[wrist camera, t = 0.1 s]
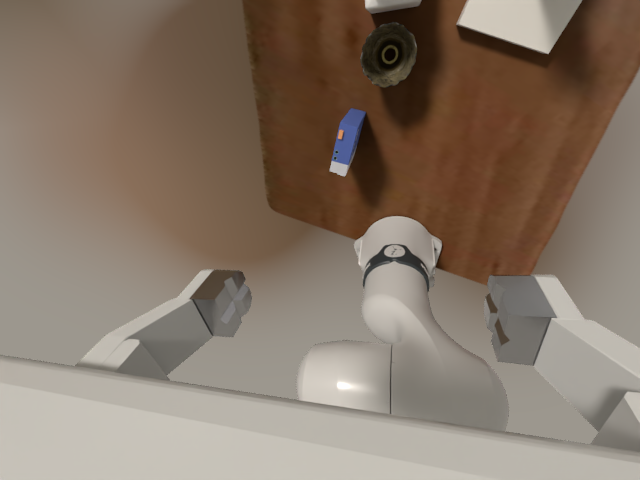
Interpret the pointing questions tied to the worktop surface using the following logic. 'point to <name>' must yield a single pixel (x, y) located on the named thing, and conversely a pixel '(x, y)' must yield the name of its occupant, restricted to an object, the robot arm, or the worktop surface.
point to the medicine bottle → (389, 5)
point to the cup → (374, 54)
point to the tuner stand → (520, 20)
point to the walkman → (347, 141)
